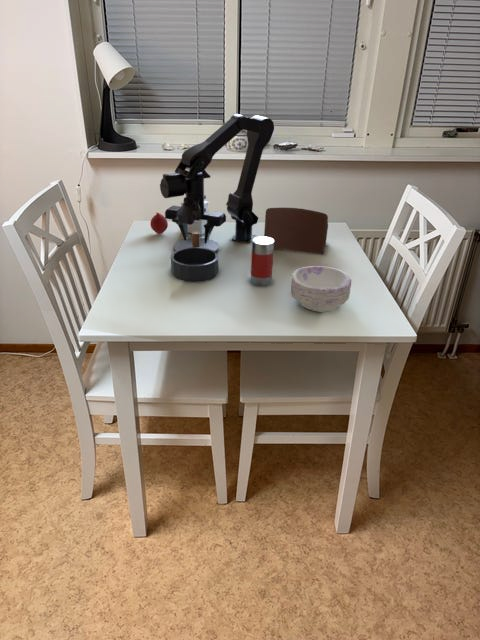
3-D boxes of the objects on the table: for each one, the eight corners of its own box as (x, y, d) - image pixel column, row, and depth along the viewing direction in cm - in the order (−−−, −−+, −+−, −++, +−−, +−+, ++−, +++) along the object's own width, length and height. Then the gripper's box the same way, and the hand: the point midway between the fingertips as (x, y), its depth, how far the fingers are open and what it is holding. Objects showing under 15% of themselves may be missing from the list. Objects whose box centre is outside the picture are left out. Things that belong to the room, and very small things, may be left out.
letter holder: (323, 254, 157) (328, 212, 150) (263, 247, 161) (265, 206, 154) (326, 243, 166) (331, 202, 158) (268, 237, 169) (271, 197, 162)
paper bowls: (313, 285, 138) (316, 259, 134) (358, 304, 129) (363, 277, 125) (277, 302, 129) (279, 275, 124) (323, 324, 119) (327, 296, 115)
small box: (209, 230, 173) (209, 201, 168) (201, 235, 169) (201, 205, 164) (189, 226, 176) (188, 198, 171) (181, 231, 172) (180, 202, 166)
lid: (185, 238, 166) (185, 222, 164) (225, 244, 162) (225, 228, 159) (165, 253, 155) (164, 236, 152) (207, 261, 150) (207, 244, 148)
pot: (184, 259, 151) (183, 244, 148) (224, 266, 147) (225, 251, 145) (163, 277, 140) (162, 261, 137) (206, 285, 136) (206, 269, 133)
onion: (169, 231, 171) (168, 209, 167) (166, 237, 166) (164, 215, 162) (153, 230, 172) (152, 208, 168) (149, 236, 167) (147, 214, 163)
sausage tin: (254, 275, 142) (256, 235, 136) (274, 279, 141) (277, 238, 134) (247, 284, 137) (248, 242, 131) (268, 288, 136) (270, 246, 129)
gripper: (154, 196, 145) (158, 245, 153) (212, 204, 140) (212, 255, 148) (172, 187, 154) (174, 234, 162) (226, 194, 149) (226, 242, 157)
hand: (195, 241), depth 157 cm, fingers open, 7 cm apart
